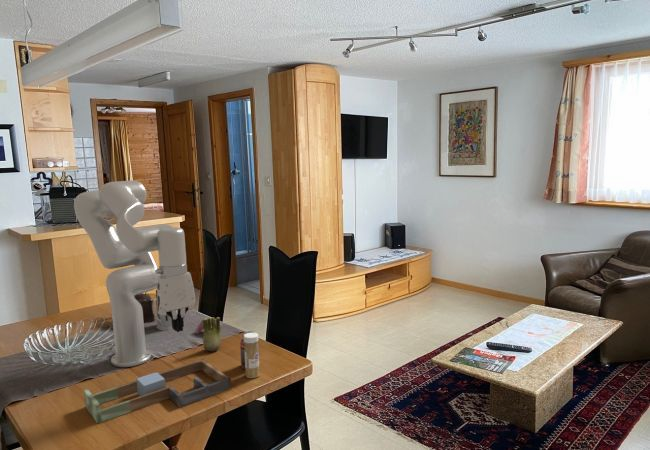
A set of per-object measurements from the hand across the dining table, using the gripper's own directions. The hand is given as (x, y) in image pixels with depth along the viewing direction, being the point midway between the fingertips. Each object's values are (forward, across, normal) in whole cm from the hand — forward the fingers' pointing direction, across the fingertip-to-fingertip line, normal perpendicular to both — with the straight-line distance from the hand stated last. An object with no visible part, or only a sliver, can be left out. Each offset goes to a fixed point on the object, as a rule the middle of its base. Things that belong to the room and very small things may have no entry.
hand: (178, 330), depth 145 cm
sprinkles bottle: (+18, +19, -9) cm, 28 cm away
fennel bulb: (+17, +19, +17) cm, 31 cm away
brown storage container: (+17, +12, +68) cm, 71 cm away
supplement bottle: (+18, +22, -3) cm, 28 cm away
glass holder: (+17, +15, +49) cm, 54 cm away
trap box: (+17, -8, -3) cm, 19 cm away
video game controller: (+17, +25, +31) cm, 44 cm away
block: (+17, -9, +1) cm, 20 cm away
